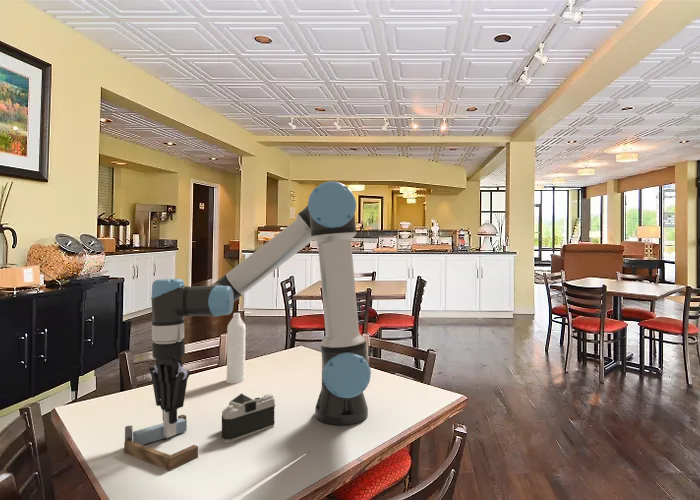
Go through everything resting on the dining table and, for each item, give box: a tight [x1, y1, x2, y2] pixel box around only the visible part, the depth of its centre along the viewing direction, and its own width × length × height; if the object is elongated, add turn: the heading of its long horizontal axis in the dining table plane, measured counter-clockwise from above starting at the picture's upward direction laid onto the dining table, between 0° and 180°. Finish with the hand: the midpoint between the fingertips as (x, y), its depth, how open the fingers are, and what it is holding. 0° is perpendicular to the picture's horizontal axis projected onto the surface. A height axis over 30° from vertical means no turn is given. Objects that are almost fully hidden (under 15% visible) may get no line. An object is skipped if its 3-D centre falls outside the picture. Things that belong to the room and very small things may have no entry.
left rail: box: [167, 444, 199, 471], centre depth 99 cm, size 1×7×2 cm, turn 149°
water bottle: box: [226, 311, 252, 384], centre depth 162 cm, size 9×6×25 cm
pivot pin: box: [124, 425, 133, 442], centre depth 106 cm, size 2×2×5 cm
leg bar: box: [132, 418, 188, 445], centre depth 112 cm, size 12×3×3 cm, turn 138°
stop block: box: [177, 414, 187, 420], centre depth 119 cm, size 2×1×3 cm
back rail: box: [123, 440, 171, 471], centre depth 100 cm, size 15×1×2 cm, turn 59°
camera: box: [221, 393, 276, 442], centre depth 118 cm, size 16×9×10 cm, turn 138°
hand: (170, 435), depth 111 cm, fingers closed
